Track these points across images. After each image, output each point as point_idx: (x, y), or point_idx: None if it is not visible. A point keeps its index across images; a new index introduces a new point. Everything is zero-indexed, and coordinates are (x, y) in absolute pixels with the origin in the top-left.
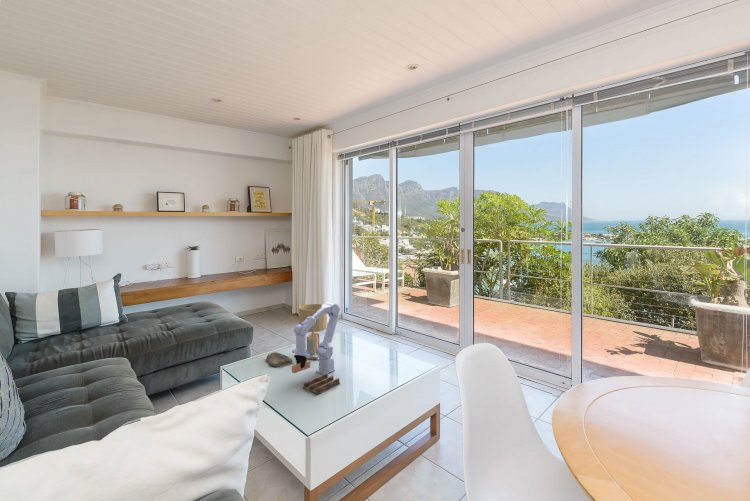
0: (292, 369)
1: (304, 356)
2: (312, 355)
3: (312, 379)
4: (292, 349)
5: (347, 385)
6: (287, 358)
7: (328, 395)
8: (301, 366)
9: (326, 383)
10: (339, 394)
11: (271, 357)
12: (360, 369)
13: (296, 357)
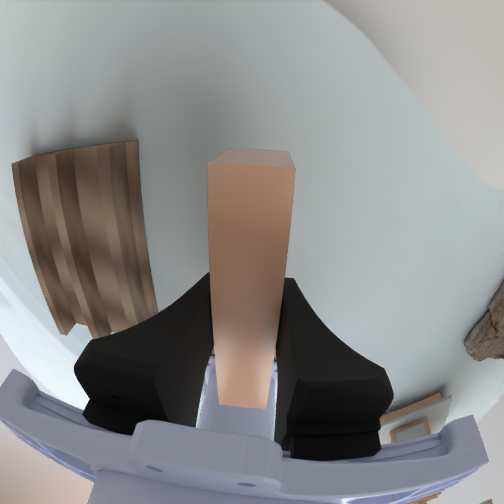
0: (267, 156)
1: (86, 416)
2: (397, 426)
3: (118, 244)
4: (484, 465)
5: (49, 317)
6: (495, 348)
7: (11, 199)
8: (199, 281)
9: (35, 256)
10: (4, 238)
11: None
12: None
13: (294, 373)
